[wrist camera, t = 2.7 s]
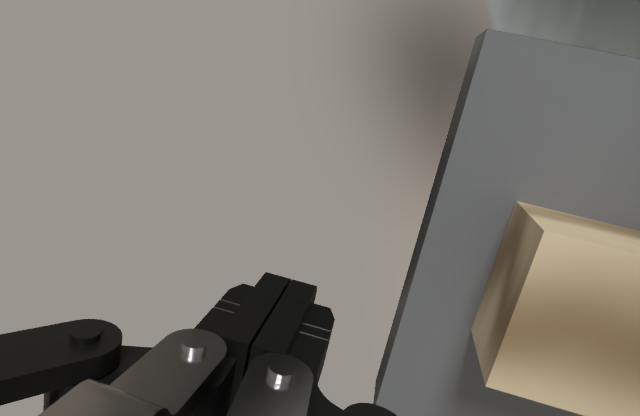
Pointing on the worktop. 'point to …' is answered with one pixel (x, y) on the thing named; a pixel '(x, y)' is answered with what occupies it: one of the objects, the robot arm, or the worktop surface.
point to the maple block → (563, 313)
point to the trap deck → (507, 205)
